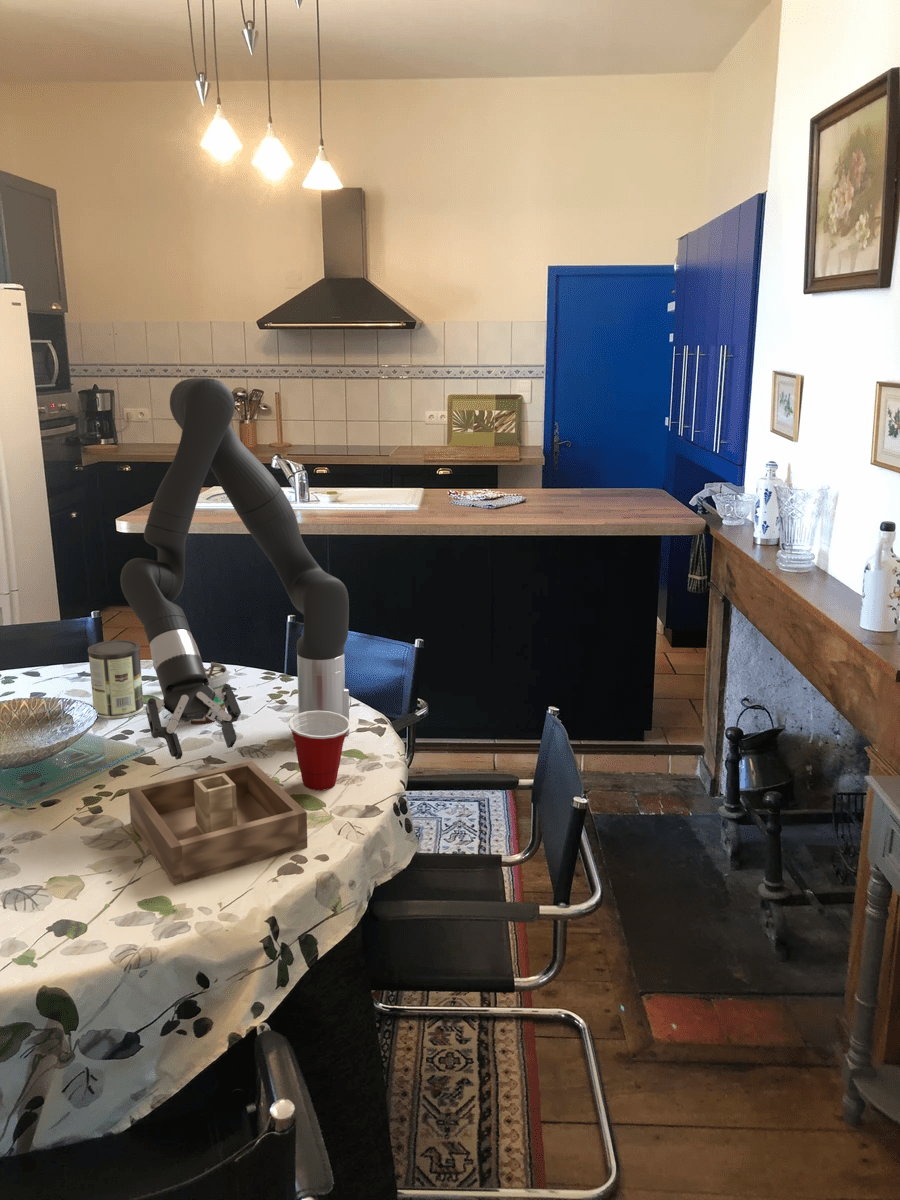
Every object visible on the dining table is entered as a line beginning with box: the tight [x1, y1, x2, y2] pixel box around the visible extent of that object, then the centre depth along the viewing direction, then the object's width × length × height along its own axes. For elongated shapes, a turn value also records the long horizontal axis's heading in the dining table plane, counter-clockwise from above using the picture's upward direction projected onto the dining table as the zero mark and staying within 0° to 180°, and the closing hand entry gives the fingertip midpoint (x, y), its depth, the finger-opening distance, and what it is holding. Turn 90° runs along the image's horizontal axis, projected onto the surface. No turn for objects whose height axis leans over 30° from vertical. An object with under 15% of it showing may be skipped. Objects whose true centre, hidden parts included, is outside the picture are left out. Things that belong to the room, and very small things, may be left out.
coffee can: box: [87, 639, 145, 720], centre depth 200 cm, size 10×10×14 cm
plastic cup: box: [288, 711, 352, 791], centre depth 168 cm, size 11×11×12 cm
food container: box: [190, 661, 231, 725], centre depth 198 cm, size 12×6×10 cm, turn 168°
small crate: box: [194, 773, 237, 834], centre depth 150 cm, size 5×5×8 cm
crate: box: [127, 760, 308, 886], centre depth 151 cm, size 21×22×6 cm
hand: (206, 751), depth 152 cm, fingers open, 8 cm apart
